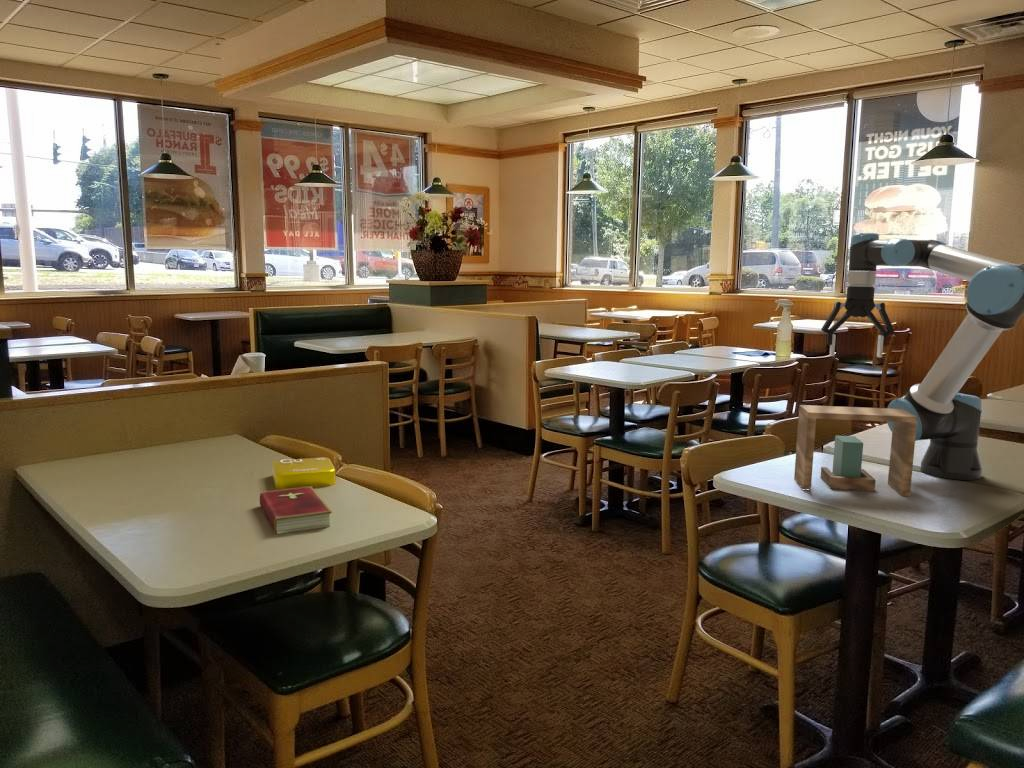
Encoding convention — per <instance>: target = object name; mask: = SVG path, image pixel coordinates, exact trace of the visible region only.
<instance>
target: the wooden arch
mask: <svg viewBox="0 0 1024 768" xmlns="http://www.w3.org/2000/svg"><path fill="white" fill-rule="evenodd" d="M817 419H820V420H843V421H867V422H886V423H887V422H893V430H892V432H891V443H890V455H889V467H888V478H887V485H888V486H889V487H891V488H892V489H893V490H894V491H895V492H897V494H898V495H900V496H901V497H911V487H912V479H913V478H912V476H913V468H914V458H915V457H914V456H915V447H916V445H915V444H916V441H915V437H916V426H917V416H915V415H913V414H911V413H909V412H907V411H905V410H903V409H889V408H888V407H884V408H883V407H860V406H832V405H811V404H810V405H809V404H807V405H806V404H799V407H798V421H797V431H796V433H797V436H796V445H795V446H796V449H795V460H794V461H795V462H794V473H793V474H794V477H793V479H794V481H795V480H796V481H797V482H796V481H795V482H796V484H797V485H798V484H799V485H800V486H801V487H800V486H799V485H798V486H799V487H800V488H802V489H809V490H811V491H812V477H813V464H814V453H815V452H814V451H815V450H814V448H815V441H816V440H815V439H816V438H815V437H816V426H817V425H816V424H817V423H816V422H817ZM820 479H821V480H822V481H823V483H824V484H825V485H826V486H827V485H828V486H829V487H830V488H829V487H828V486H827V487H828V488H829V489H831V488H841V489H840V490H849V489H856V490H855V491H870V492H874V491H876V490H875V489H876V479H875V478H874V477H873V476H872V475H871V474H870V473H869V472H867V471H866V470H865V469H863V468H861V477H843V476H835V475H834V474H833V473H832V471H831V469H829V468H828V467H827V466H821V467H820ZM802 489H801V490H802Z"/></svg>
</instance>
